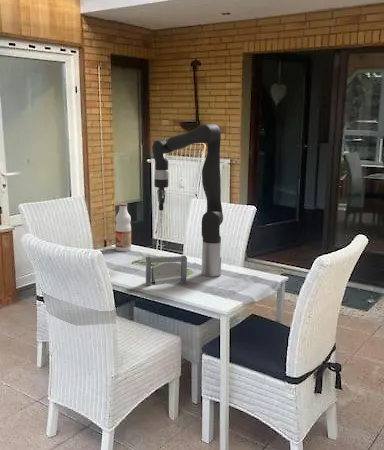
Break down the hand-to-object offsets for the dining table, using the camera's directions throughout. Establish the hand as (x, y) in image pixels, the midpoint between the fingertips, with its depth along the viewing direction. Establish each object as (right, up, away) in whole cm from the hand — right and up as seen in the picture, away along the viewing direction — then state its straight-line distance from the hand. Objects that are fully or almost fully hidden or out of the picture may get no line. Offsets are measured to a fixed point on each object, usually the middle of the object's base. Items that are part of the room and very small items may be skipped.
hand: (160, 210), depth 267 cm
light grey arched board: (+5, -35, -26) cm, 44 cm away
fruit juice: (-25, -23, +30) cm, 45 cm away
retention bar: (+4, -36, -31) cm, 48 cm away
